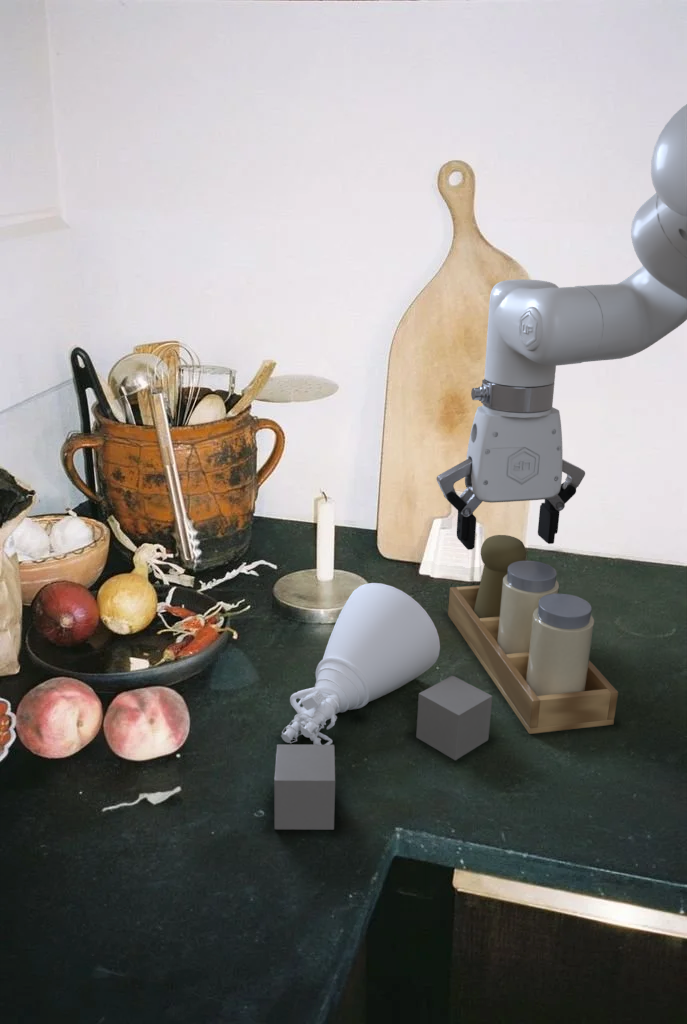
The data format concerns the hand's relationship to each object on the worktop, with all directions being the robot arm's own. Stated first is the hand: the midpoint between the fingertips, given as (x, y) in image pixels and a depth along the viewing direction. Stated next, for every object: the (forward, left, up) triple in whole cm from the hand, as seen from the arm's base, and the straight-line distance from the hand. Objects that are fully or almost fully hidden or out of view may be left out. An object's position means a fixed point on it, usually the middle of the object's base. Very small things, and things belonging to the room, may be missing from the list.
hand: (506, 542), depth 108 cm
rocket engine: (-12, +22, -12) cm, 28 cm away
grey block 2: (-20, +12, -12) cm, 26 cm away
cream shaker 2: (-16, 0, -11) cm, 20 cm away
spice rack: (-8, 0, -12) cm, 14 cm away
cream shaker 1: (-8, 0, -11) cm, 13 cm away
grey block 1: (-28, +28, -12) cm, 41 cm away
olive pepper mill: (0, 0, -11) cm, 11 cm away
